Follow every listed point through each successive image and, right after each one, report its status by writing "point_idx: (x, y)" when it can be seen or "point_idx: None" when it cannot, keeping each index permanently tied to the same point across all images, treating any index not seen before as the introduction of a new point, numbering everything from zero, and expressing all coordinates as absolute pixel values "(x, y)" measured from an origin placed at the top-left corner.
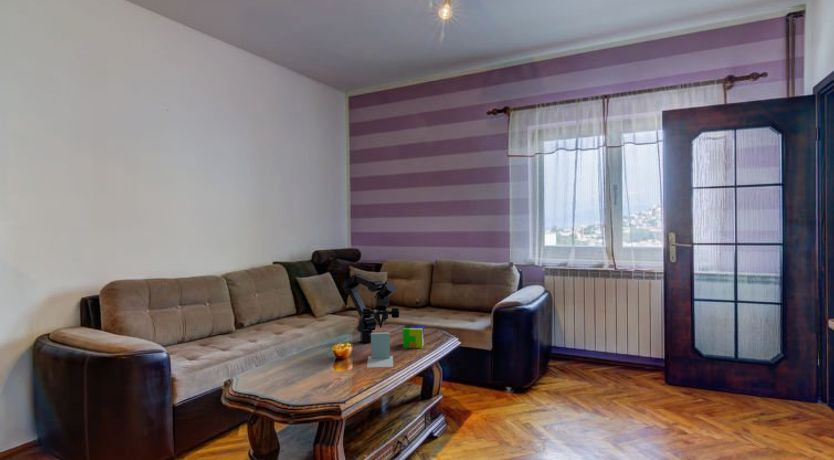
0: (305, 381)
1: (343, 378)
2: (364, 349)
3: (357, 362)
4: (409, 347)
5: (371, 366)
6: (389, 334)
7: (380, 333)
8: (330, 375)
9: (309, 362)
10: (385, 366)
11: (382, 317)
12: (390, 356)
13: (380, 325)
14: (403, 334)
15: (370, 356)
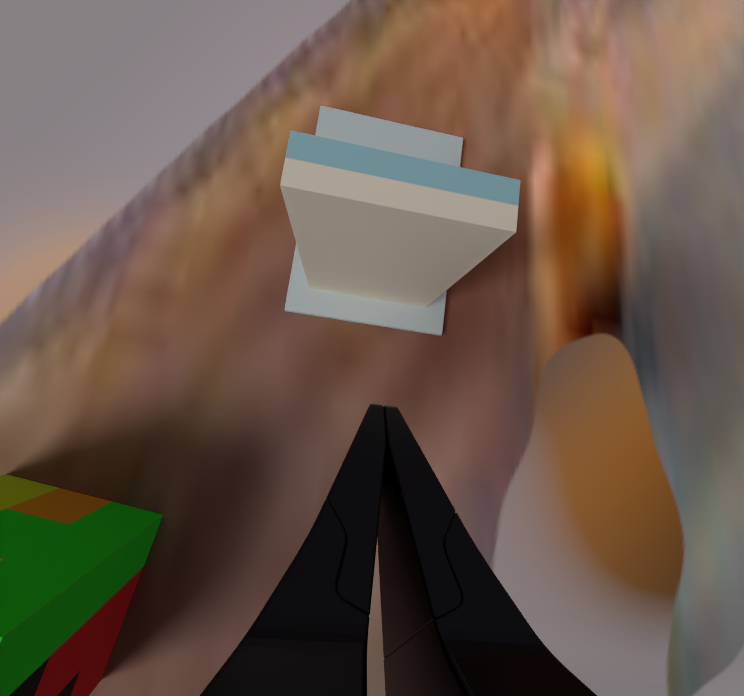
0: (710, 56)
1: (567, 40)
2: None
3: (505, 250)
4: (107, 504)
5: (437, 143)
6: (295, 138)
7: (406, 174)
8: (623, 94)
9: (740, 313)
10: (362, 121)
11: (348, 595)
12: (302, 298)
13: (390, 417)
14: (64, 585)
15: (429, 329)
